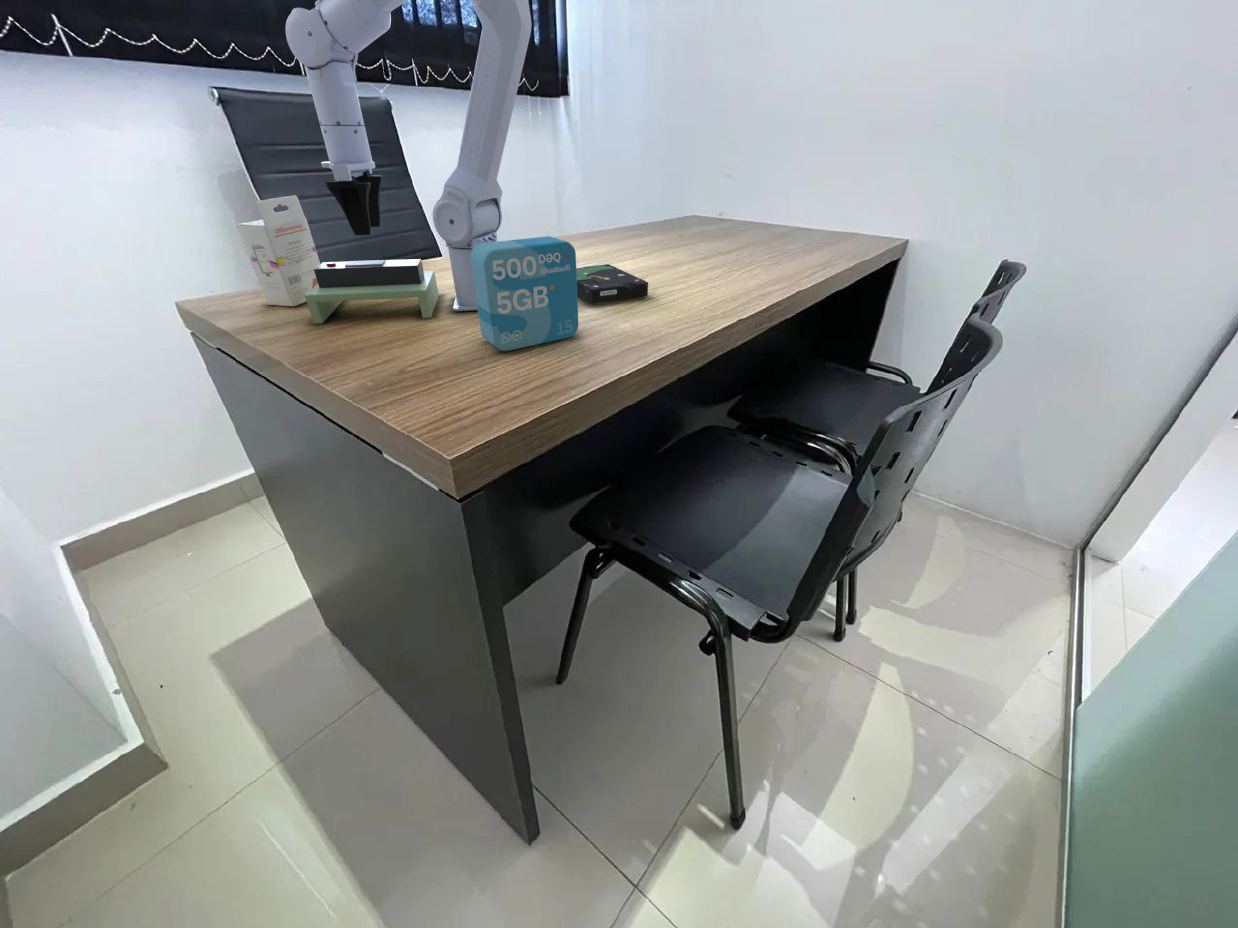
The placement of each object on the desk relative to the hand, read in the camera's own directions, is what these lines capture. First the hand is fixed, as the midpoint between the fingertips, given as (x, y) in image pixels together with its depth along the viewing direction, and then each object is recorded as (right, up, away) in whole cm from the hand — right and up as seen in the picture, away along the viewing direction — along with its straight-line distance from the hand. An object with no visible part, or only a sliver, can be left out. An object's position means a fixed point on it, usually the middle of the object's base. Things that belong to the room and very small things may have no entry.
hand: (368, 230), depth 80 cm
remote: (+2, -9, -3) cm, 10 cm away
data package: (+28, -20, -12) cm, 36 cm away
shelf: (+3, -12, -1) cm, 13 cm away
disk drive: (+36, -7, +8) cm, 38 cm away
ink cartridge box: (-13, -10, +3) cm, 16 cm away
